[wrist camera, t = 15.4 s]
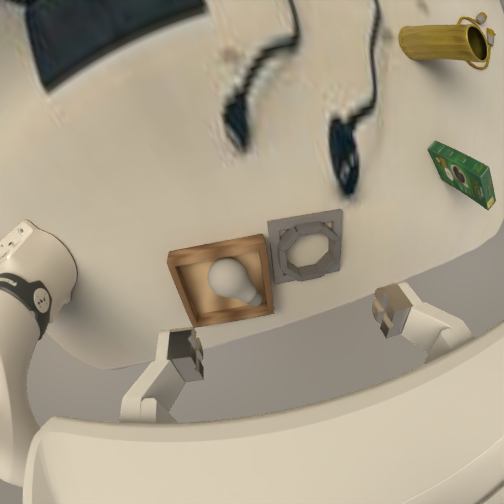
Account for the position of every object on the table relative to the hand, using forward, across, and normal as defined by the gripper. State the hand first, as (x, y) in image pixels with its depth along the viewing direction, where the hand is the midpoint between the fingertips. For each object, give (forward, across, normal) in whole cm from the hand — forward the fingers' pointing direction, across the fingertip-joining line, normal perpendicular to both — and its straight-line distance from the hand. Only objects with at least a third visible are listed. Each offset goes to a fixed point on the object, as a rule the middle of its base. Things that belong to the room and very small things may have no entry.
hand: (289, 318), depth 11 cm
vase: (+29, -30, -17) cm, 45 cm away
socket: (+29, -9, +17) cm, 35 cm away
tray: (+29, +6, +20) cm, 36 cm away
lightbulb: (+26, 0, +24) cm, 35 cm away
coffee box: (+29, -36, +4) cm, 47 cm away
